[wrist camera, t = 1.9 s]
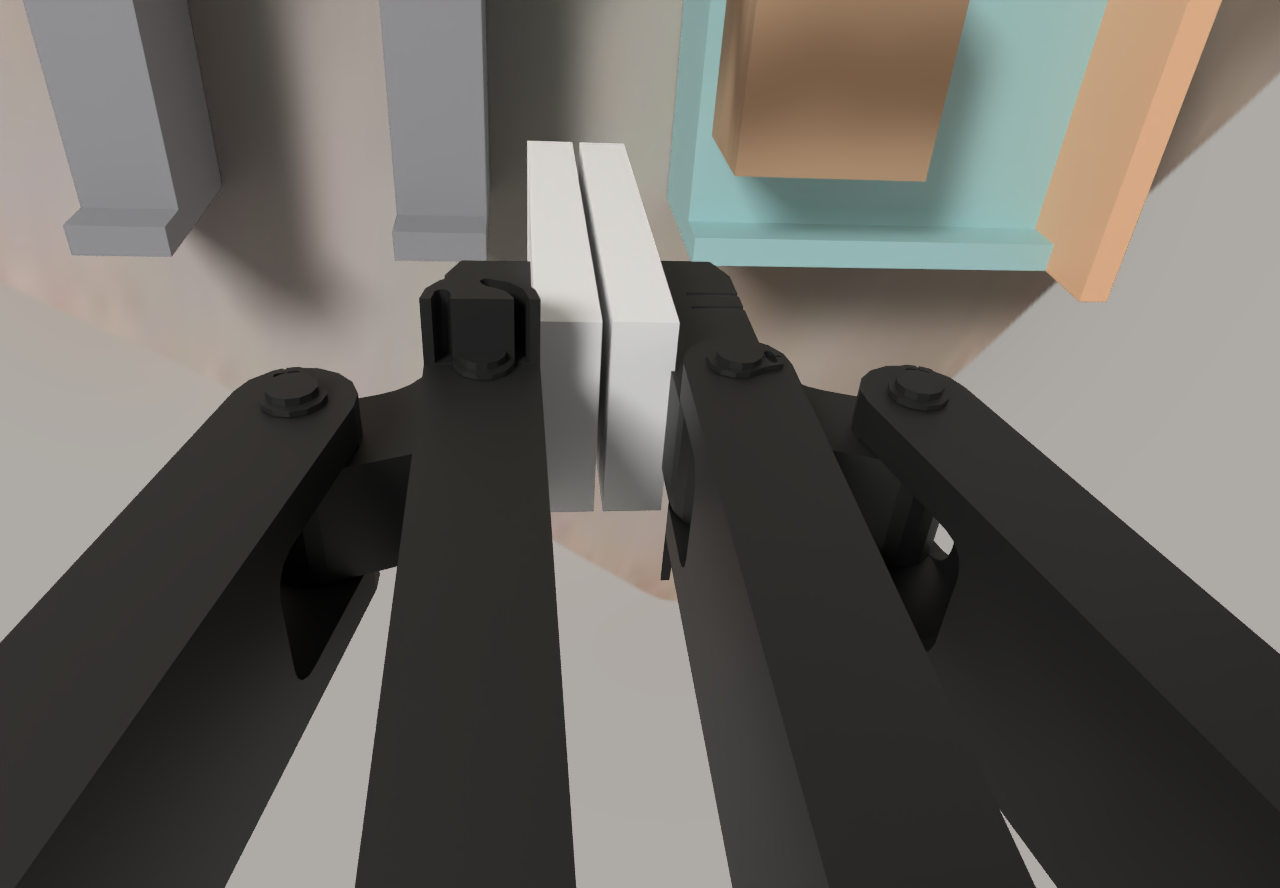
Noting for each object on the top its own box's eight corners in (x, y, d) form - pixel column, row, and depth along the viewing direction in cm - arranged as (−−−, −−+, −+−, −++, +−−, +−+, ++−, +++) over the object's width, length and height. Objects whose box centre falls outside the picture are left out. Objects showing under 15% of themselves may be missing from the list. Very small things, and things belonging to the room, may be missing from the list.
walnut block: (733, -67, 28) (762, -48, 25) (925, -55, 29) (978, -35, 26) (711, 135, 31) (734, 175, 28) (883, 141, 32) (925, 181, 29)
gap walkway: (23, -289, 27) (-157, -317, 20) (1113, -196, 32) (1295, -191, 24) (138, 184, 35) (39, 289, 28) (996, 206, 40) (1106, 302, 32)
